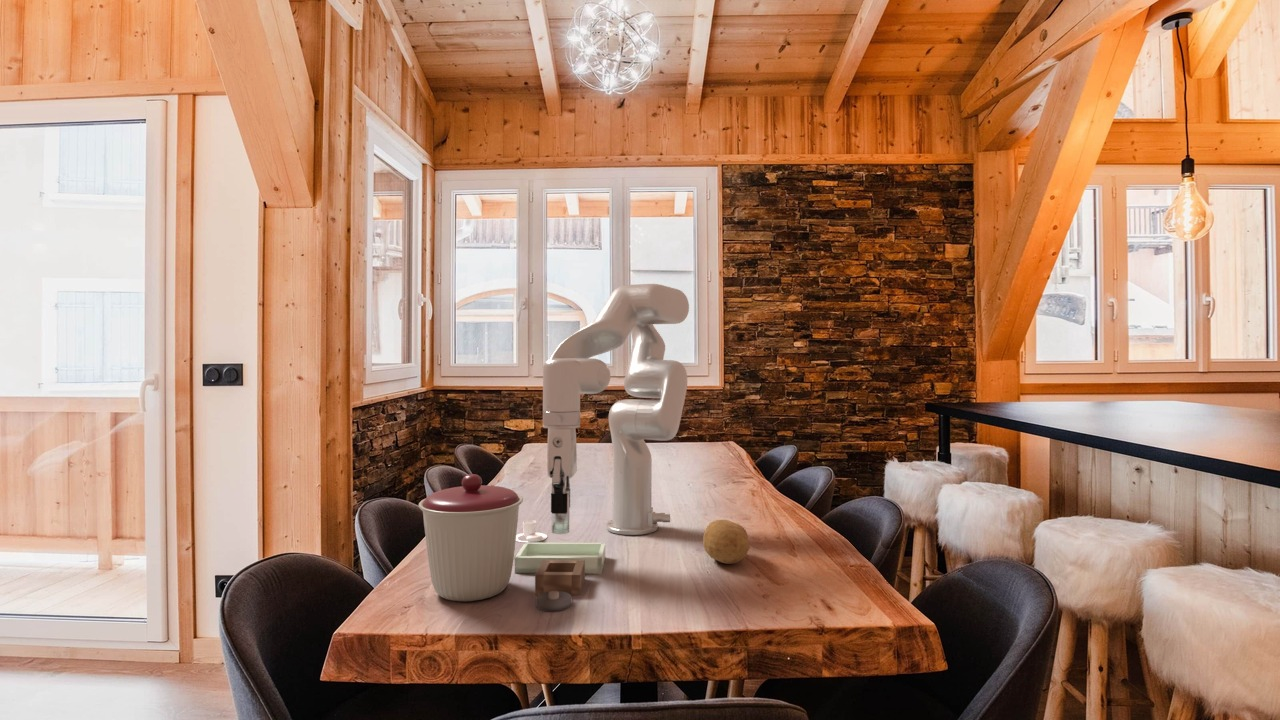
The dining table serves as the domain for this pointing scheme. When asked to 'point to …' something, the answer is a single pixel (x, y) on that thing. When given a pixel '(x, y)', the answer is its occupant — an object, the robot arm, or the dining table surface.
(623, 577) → the dining table surface
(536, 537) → the teacup and saucer
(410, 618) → the dining table surface
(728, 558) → the potato
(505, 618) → the dining table surface
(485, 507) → the canister
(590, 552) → the tray
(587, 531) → the dining table surface
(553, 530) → the dark capped bottle
